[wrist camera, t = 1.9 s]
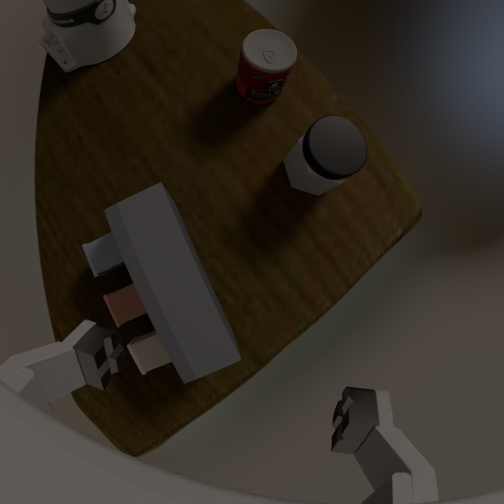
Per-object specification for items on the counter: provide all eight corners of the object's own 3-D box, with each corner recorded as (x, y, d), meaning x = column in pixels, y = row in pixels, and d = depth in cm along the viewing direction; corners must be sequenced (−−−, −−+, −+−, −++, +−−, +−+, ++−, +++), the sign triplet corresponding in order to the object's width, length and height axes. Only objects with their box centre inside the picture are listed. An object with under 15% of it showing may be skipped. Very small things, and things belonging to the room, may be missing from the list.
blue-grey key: (105, 274, 40) (94, 277, 36) (94, 246, 40) (82, 245, 36) (151, 252, 41) (145, 252, 37) (139, 223, 41) (131, 220, 37)
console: (190, 350, 45) (184, 383, 32) (132, 221, 44) (104, 209, 31) (233, 331, 46) (241, 359, 33) (174, 202, 45) (161, 182, 32)
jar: (340, 155, 48) (374, 129, 36) (330, 201, 48) (365, 186, 36) (288, 137, 47) (311, 104, 35) (276, 184, 47) (297, 162, 35)
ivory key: (148, 364, 41) (142, 375, 37) (134, 337, 41) (126, 345, 36) (194, 345, 42) (193, 354, 37) (180, 317, 42) (177, 323, 37)
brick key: (126, 320, 41) (117, 327, 36) (112, 291, 40) (102, 295, 36) (172, 299, 42) (168, 305, 37) (159, 270, 41) (153, 272, 37)
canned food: (244, 110, 46) (253, 75, 35) (229, 72, 46) (234, 33, 35) (288, 100, 47) (306, 66, 36) (271, 63, 47) (285, 25, 36)
